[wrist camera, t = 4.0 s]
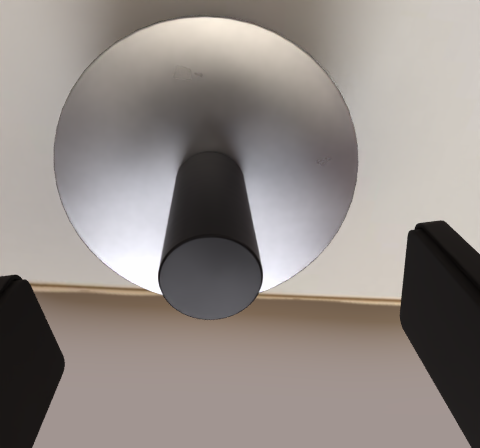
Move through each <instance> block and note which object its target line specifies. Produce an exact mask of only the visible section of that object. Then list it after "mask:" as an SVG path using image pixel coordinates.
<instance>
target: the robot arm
mask: <svg viewBox="0 0 480 448" xmlns="http://www.w3.org/2000/svg"><path fill="white" fill-rule="evenodd" d="M400 321H401V325H402V328H403V330H404V331H405V333H406V335H407V336H408V338H409V340H410V342H411V344H412V345H413V347H414V349H415V351H416V352H417V354H418V356H419V358H420V359H421V361H422V363H423V364H424V366H425V368H426V370H427V371H428V373H429V375H430V377H431V378H432V380H433V382H434V383H435V385H436V387H437V389H438V390H439V392H440V394H441V396H442V397H443V399H444V401H445V403H446V404H447V406H448V408H449V409H450V411H451V413H452V415H453V416H454V418H455V420H456V421H457V423H458V425H459V427H460V428H461V430H462V432H463V434H464V435H465V437H466V439H467V441H468V442H469V444H470V446H471V448H480V254H479V253H478V252H477V251H476V250H475V249H474V248H472V247H471V246H470V245H469V244H468V243H467V242H466V241H465V240H464V239H463V238H462V237H461V236H460V235H459V234H458V233H457V232H456V231H454V230H453V229H452V228H451V227H450V226H449V225H448V224H447V223H446V222H444V221H433V222H425V223H418V224H417V225H416V227H415V230H411V231H409V233H408V238H407V248H406V258H405V268H404V278H403V288H402V298H401V308H400ZM64 367H65V362H64V357H63V354H62V352H61V350H60V348H59V346H58V344H57V341H56V339H55V337H54V335H53V333H52V331H51V329H50V326H49V324H48V322H47V320H46V318H45V316H44V313H43V311H42V309H41V307H40V305H39V303H38V301H37V298H36V296H35V294H34V292H33V290H32V287H31V285H30V283H29V282H28V281H27V280H22V278H21V277H20V276H18V275H9V276H1V277H0V448H32V446H33V444H34V442H35V439H36V437H37V435H38V432H39V430H40V427H41V425H42V422H43V420H44V418H45V415H46V413H47V410H48V408H49V405H50V403H51V400H52V398H53V396H54V393H55V391H56V388H57V386H58V384H59V381H60V379H61V377H62V374H63V371H64Z"/></svg>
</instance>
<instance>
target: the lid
mask: <svg viewBox="0 0 480 448" xmlns="http://www.w3.org/2000/svg"><path fill="white" fill-rule="evenodd" d="M54 171H55V178H56V185H57V189H58V192H59V195H60V199H61V202H62V205H63V207H64V210H65V212H66V214H67V216H68V219H69V221H70V222H71V224H72V226H73V227H74V229H75V231H76V232H77V234H78V235H79V237H80V238H81V239H82V241H83V242H84V243H85V244H86V246H87V247H88V248H89V249H90V251H91V252H92V253H93V254H94V255H95V256H97V257H98V258H99V259H100V260H101V261H102V262H103V263H104V264H105V265H106V266H108V267H109V268H110V269H112V270H113V271H114V272H115V273H117V274H118V275H120V276H122V277H123V278H125V279H127V280H128V281H130V282H132V283H134V284H136V285H138V286H140V287H142V288H144V289H147V290H149V291H152V292H155V293H158V294H161V295H163V296H164V298H165V299H166V300H167V302H168V303H169V304H170V305H171V306H172V307H173V308H175V309H176V310H178V311H179V312H181V313H183V314H185V315H187V316H190V317H193V318H198V319H205V320H215V319H222V318H227V317H230V316H233V315H235V314H237V313H239V312H241V311H242V310H244V309H245V308H247V307H248V306H249V305H250V304H251V303H252V302H253V301H254V300H255V298H256V297H257V295H258V294H259V293H261V292H263V291H266V290H268V289H270V288H273V287H275V286H277V285H279V284H281V283H283V282H285V281H287V280H288V279H290V278H292V277H293V276H295V275H296V274H297V273H299V272H300V271H302V270H303V269H305V268H306V267H307V266H308V265H309V264H310V263H311V262H313V261H314V260H315V259H316V258H317V257H318V256H319V255H320V254H321V253H322V251H323V250H324V249H325V248H326V247H327V246H328V245H329V243H330V242H331V240H332V239H333V238H334V236H335V235H336V233H337V232H338V230H339V228H340V227H341V225H342V223H343V221H344V219H345V217H346V215H347V212H348V210H349V207H350V204H351V202H352V199H353V195H354V190H355V186H356V182H357V172H358V145H357V140H356V134H355V129H354V125H353V122H352V119H351V116H350V113H349V110H348V107H347V105H346V103H345V101H344V99H343V97H342V95H341V93H340V91H339V89H338V88H337V86H336V85H335V84H334V82H333V81H332V79H331V78H330V76H329V75H328V74H327V72H326V71H325V70H324V69H323V68H322V67H321V66H320V65H319V64H318V63H317V62H316V61H315V59H314V58H313V57H312V56H310V55H309V54H308V53H307V52H305V51H304V50H303V49H302V48H300V47H299V46H298V45H297V44H295V43H294V42H292V41H290V40H289V39H287V38H285V37H283V36H282V35H280V34H278V33H277V32H275V31H272V30H270V29H267V28H265V27H262V26H260V25H257V24H255V23H252V22H248V21H244V20H240V19H236V18H231V17H223V16H212V15H199V16H183V17H178V18H173V19H169V20H164V21H160V22H157V23H154V24H152V25H149V26H146V27H144V28H141V29H138V30H136V31H134V32H133V33H131V34H129V35H127V36H125V37H124V38H122V39H120V40H118V41H117V42H115V43H114V44H113V45H111V46H110V47H109V48H108V49H106V50H105V51H104V52H102V53H101V54H100V55H99V56H98V57H97V58H96V59H95V60H94V61H93V62H92V63H91V64H90V65H89V66H88V67H87V68H86V69H85V71H84V72H83V73H82V75H81V76H80V78H79V79H78V81H77V82H76V83H75V85H74V86H73V88H72V89H71V91H70V94H69V96H68V98H67V100H66V102H65V104H64V106H63V108H62V112H61V115H60V118H59V121H58V125H57V129H56V135H55V142H54Z"/></svg>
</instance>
